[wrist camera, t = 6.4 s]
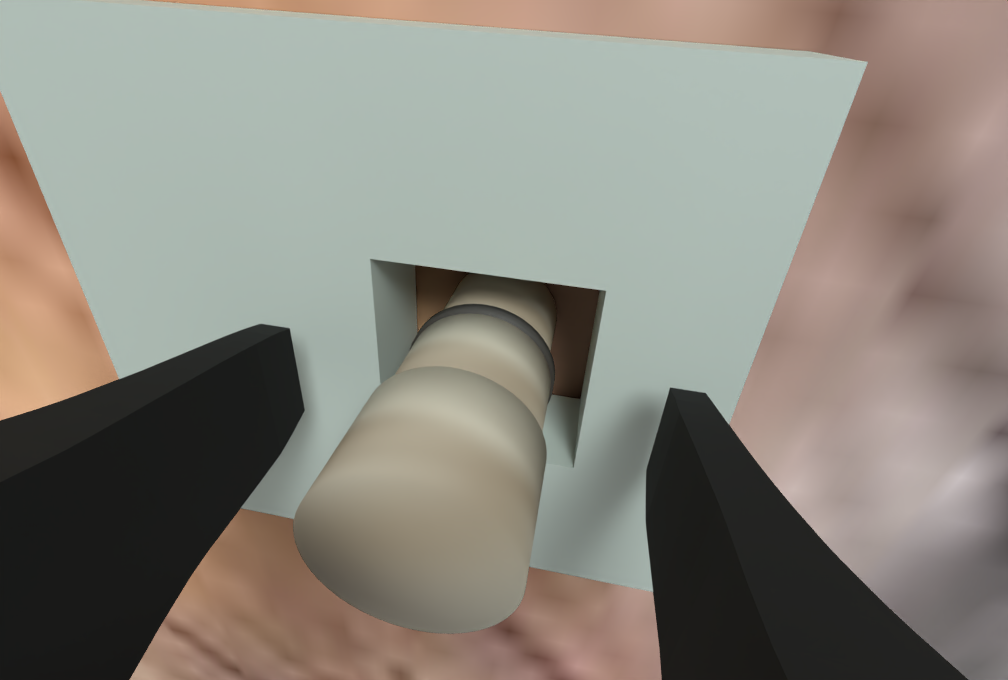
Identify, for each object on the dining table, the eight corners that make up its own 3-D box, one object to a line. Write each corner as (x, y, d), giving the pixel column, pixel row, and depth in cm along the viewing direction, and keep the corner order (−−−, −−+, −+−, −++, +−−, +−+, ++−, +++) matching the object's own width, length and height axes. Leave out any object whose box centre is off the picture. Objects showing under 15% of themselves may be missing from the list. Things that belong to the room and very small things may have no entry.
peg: (590, 345, 13) (566, 621, 7) (478, 381, 14) (378, 642, 8) (534, 230, 12) (447, 449, 6) (417, 281, 13) (246, 504, 7)
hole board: (809, 51, 9) (867, 62, 7) (657, 515, 15) (664, 594, 13) (87, -4, 11) (-41, -9, 9) (221, 434, 17) (166, 493, 15)
